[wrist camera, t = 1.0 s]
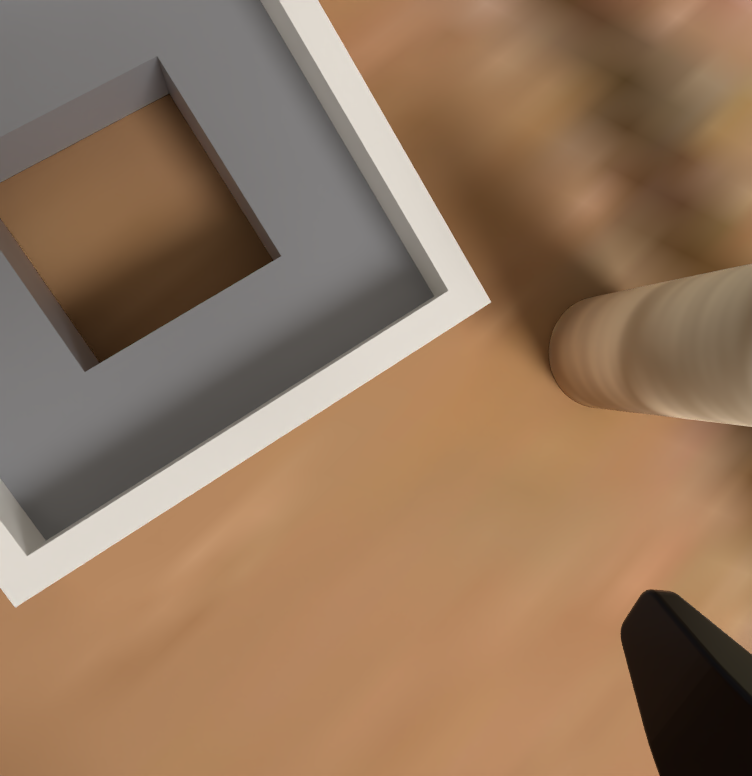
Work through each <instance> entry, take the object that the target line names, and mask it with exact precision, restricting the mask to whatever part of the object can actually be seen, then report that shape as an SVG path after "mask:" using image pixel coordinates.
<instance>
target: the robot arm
mask: <svg viewBox="0 0 752 776" xmlns="http://www.w3.org/2000/svg"><path fill="white" fill-rule="evenodd" d="M621 642H622V646H623V650H624V653H625V657H626V661H627V665H628V669H629V672H630V676H631V680H632V684H633V688H634V691H635V695H636V699H637V703H638V707H639V710H640V714H641V718H642V722H643V726H644V729H645V733H646V736H647V740H648V743H649V746H650V749H651V752H652V755H653V758H654V761H655V764H656V767H657V770H658V772H659V775H660V776H752V654H750V653H749V652H748V651H747V650H745V649H744V648H743V647H742V646H740V645H739V644H738V643H737V642H736V641H734V640H733V639H732V638H731V637H729V636H728V635H727V634H726V633H724V632H723V631H722V630H721V629H719V628H718V627H717V626H716V625H715V624H713V623H712V622H711V621H710V620H708V619H707V618H706V617H705V616H703V615H702V614H701V613H700V612H699V611H697V610H696V609H695V608H694V607H692V606H691V605H690V604H689V603H687V602H686V601H685V600H684V599H683V598H681V597H680V596H679V595H677V594H676V593H674V592H671V591H663V590H652V589H651V590H646V591H645V592H643V593H642V594H641V596H640V597H639V599H638V600H637V602H636V603H635V605H634V606H633V608H632V609H631V611H630V613H629V614H628V616H627V617H626V619H625V620H624V622H623V624H622V627H621Z"/></svg>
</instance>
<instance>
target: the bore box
mask: <svg viewBox="0 0 752 776" xmlns="http://www.w3.org/2000/svg"><path fill="white" fill-rule="evenodd" d="M167 94H170V96H171V97H172V99H173V100H174V102H175V104H176V105H177V107H178V108H179V110H180V112H181V113H182V115H183V117H184V118H185V120H186V121H187V123H188V125H189V126H190V128H191V129H192V131H193V133H194V134H195V136H196V137H197V139H198V141H199V142H200V144H201V145H202V147H203V149H204V150H205V152H206V153H207V155H208V157H209V158H210V160H211V161H212V163H213V165H214V166H215V168H216V169H217V171H218V173H219V174H220V176H221V177H222V179H223V181H224V182H225V184H226V186H227V187H228V189H229V190H230V192H231V194H232V195H233V197H234V198H235V200H236V202H237V203H238V205H239V206H240V208H241V210H242V211H243V213H244V214H245V216H246V218H247V219H248V221H249V222H250V224H251V226H252V227H253V229H254V230H255V232H256V234H257V235H258V237H259V238H260V240H261V242H262V243H263V245H264V246H265V248H266V250H267V251H268V253H269V254H270V256H271V258H272V259H273V261H272V262H270V263H269V264H267V265H265V266H264V267H262V268H260V269H259V270H257V271H255V272H253V273H252V274H250V275H248V276H247V277H245V278H243V279H242V280H240V281H238V282H236V283H235V284H233V285H231V286H230V287H228V288H226V289H225V290H223V291H221V292H220V293H218V294H216V295H214V296H213V297H211V298H209V299H208V300H206V301H204V302H203V303H201V304H199V305H198V306H196V307H194V308H192V309H191V310H189V311H187V312H186V313H184V314H182V315H181V316H179V317H177V318H175V319H174V320H172V321H170V322H169V323H167V324H165V325H164V326H162V327H160V328H159V329H157V330H155V331H153V332H152V333H150V334H148V335H147V336H145V337H143V338H142V339H140V340H138V341H137V342H135V343H133V344H131V345H130V346H128V347H126V348H125V349H123V350H121V351H120V352H118V353H116V354H114V355H113V356H111V357H109V358H108V359H106V360H104V361H103V362H101V363H99V362H98V360H97V359H96V357H95V356H94V354H93V353H92V351H91V350H90V348H89V347H88V346H87V344H86V343H85V341H84V340H83V338H82V337H81V335H80V334H79V332H78V331H77V329H76V328H75V327H74V325H73V324H72V322H71V321H70V319H69V318H68V316H67V315H66V313H65V312H64V310H63V309H62V308H61V306H60V305H59V303H58V302H57V300H56V299H55V297H54V296H53V294H52V293H51V291H50V290H49V289H48V287H47V286H46V284H45V283H44V281H43V280H42V278H41V277H40V275H39V274H38V273H37V271H36V270H35V268H34V267H33V265H32V264H31V262H30V261H29V259H28V258H27V256H26V255H25V254H24V252H23V251H22V249H21V248H20V246H19V245H18V243H17V242H16V240H15V239H14V237H13V236H12V235H11V233H10V232H9V230H8V229H7V227H6V226H5V224H4V223H3V221H2V220H1V218H0V588H1V589H2V591H3V592H4V593H5V595H6V596H7V597H8V599H9V600H10V601H11V603H12V604H13V605H14V607H17V606H18V605H20V604H22V603H23V602H25V601H26V600H28V599H29V598H31V597H33V596H34V595H36V594H37V593H39V592H40V591H42V590H43V589H45V588H47V587H48V586H50V585H51V584H53V583H54V582H56V581H57V580H59V579H61V578H62V577H64V576H65V575H67V574H68V573H70V572H71V571H73V570H75V569H76V568H78V567H79V566H81V565H82V564H84V563H86V562H87V561H89V560H90V559H92V558H93V557H95V556H96V555H98V554H100V553H101V552H103V551H104V550H106V549H107V548H109V547H110V546H112V545H114V544H115V543H117V542H118V541H120V540H121V539H123V538H124V537H126V536H128V535H129V534H131V533H132V532H134V531H135V530H137V529H138V528H140V527H142V526H143V525H145V524H146V523H148V522H149V521H151V520H153V519H154V518H156V517H157V516H159V515H160V514H162V513H163V512H165V511H167V510H168V509H170V508H171V507H173V506H174V505H176V504H177V503H179V502H181V501H182V500H184V499H185V498H187V497H188V496H190V495H191V494H193V493H195V492H196V491H198V490H199V489H201V488H202V487H204V486H206V485H207V484H209V483H210V482H212V481H213V480H215V479H216V478H218V477H220V476H221V475H223V474H224V473H226V472H227V471H229V470H230V469H232V468H234V467H235V466H237V465H238V464H240V463H241V462H243V461H244V460H246V459H248V458H249V457H251V456H252V455H254V454H255V453H257V452H259V451H260V450H262V449H263V448H265V447H266V446H268V445H269V444H271V443H273V442H274V441H276V440H277V439H279V438H280V437H282V436H283V435H285V434H287V433H288V432H290V431H291V430H293V429H294V428H296V427H297V426H299V425H301V424H302V423H304V422H305V421H307V420H308V419H310V418H311V417H313V416H315V415H316V414H318V413H319V412H321V411H322V410H324V409H326V408H327V407H329V406H330V405H332V404H333V403H335V402H336V401H338V400H340V399H341V398H343V397H344V396H346V395H347V394H349V393H350V392H352V391H354V390H355V389H357V388H358V387H360V386H361V385H363V384H364V383H366V382H368V381H369V380H371V379H372V378H374V377H375V376H377V375H379V374H380V373H382V372H383V371H385V370H386V369H388V368H389V367H391V366H393V365H394V364H396V363H397V362H399V361H400V360H402V359H403V358H405V357H407V356H408V355H410V354H411V353H413V352H414V351H416V350H417V349H419V348H421V347H422V346H424V345H425V344H427V343H428V342H430V341H432V340H433V339H435V338H436V337H438V336H439V335H441V334H442V333H444V332H446V331H447V330H449V329H450V328H452V327H453V326H455V325H456V324H458V323H460V322H461V321H463V320H464V319H466V318H467V317H469V316H470V315H472V314H474V313H475V312H477V311H478V310H480V309H481V308H483V307H484V306H486V305H488V304H489V303H491V301H490V299H489V297H488V296H487V294H486V292H485V290H484V289H483V287H482V285H481V283H480V282H479V280H478V278H477V276H476V275H475V273H474V271H473V269H472V268H471V266H470V264H469V262H468V261H467V259H466V257H465V256H464V254H463V252H462V250H461V249H460V247H459V245H458V243H457V242H456V240H455V238H454V236H453V235H452V233H451V231H450V229H449V228H448V226H447V224H446V222H445V221H444V219H443V217H442V215H441V214H440V212H439V210H438V208H437V207H436V205H435V203H434V202H433V200H432V198H431V196H430V195H429V193H428V191H427V189H426V188H425V186H424V184H423V182H422V181H421V179H420V177H419V175H418V174H417V172H416V170H415V168H414V167H413V165H412V163H411V161H410V160H409V158H408V156H407V154H406V153H405V151H404V149H403V148H402V146H401V144H400V142H399V141H398V139H397V137H396V135H395V134H394V132H393V130H392V128H391V127H390V125H389V123H388V121H387V120H386V118H385V116H384V114H383V113H382V111H381V109H380V107H379V106H378V104H377V102H376V101H375V99H374V97H373V95H372V94H371V92H370V90H369V88H368V87H367V85H366V83H365V81H364V80H363V78H362V76H361V74H360V73H359V71H358V69H357V67H356V66H355V64H354V62H353V60H352V59H351V57H350V55H349V53H348V52H347V50H346V48H345V47H344V45H343V43H342V41H341V40H340V38H339V36H338V34H337V33H336V31H335V29H334V27H333V26H332V24H331V22H330V20H329V19H328V17H327V15H326V13H325V12H324V10H323V8H322V6H321V5H320V3H319V1H318V0H0V182H2V181H4V180H6V179H8V178H10V177H12V176H13V175H15V174H17V173H19V172H21V171H23V170H25V169H27V168H29V167H31V166H32V165H34V164H36V163H38V162H40V161H42V160H44V159H46V158H48V157H50V156H51V155H53V154H55V153H57V152H59V151H61V150H63V149H65V148H67V147H69V146H70V145H72V144H74V143H76V142H78V141H80V140H82V139H84V138H86V137H87V136H89V135H91V134H93V133H95V132H97V131H99V130H101V129H103V128H105V127H106V126H108V125H110V124H112V123H114V122H116V121H118V120H120V119H122V118H124V117H125V116H127V115H129V114H131V113H133V112H135V111H137V110H139V109H141V108H142V107H144V106H146V105H148V104H150V103H152V102H154V101H156V100H158V99H160V98H161V97H163V96H165V95H167Z"/></svg>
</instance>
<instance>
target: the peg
mask: <svg viewBox="0 0 752 776" xmlns="http://www.w3.org/2000/svg"><path fill="white" fill-rule="evenodd" d="M549 362H550V367H551V371H552V374H553V376H554V378H555V380H556V382H557V384H558V385H559V387H560V388H561V389H562V391H563V392H564V393H565V394H566V395H567V396H568V397H570V398H571V399H572V400H574V401H575V402H577V403H579V404H581V405H584V406H587V407H593V408H601V409H609V410H617V411H626V412H634V413H642V414H650V415H659V416H667V417H675V418H684V419H692V420H700V421H709V422H717V423H725V424H734V425H742V426H750V427H752V264H749V265H744V266H739V267H734V268H729V269H725V270H720V271H715V272H710V273H705V274H701V275H696V276H691V277H686V278H681V279H677V280H672V281H667V282H662V283H657V284H653V285H648V286H643V287H638V288H633V289H628V290H624V291H619V292H614V293H609V294H604V295H600V296H595V297H590V298H586V299H583V300H581V301H579V302H577V303H575V304H574V305H572V306H571V307H570V308H568V309H567V310H566V311H565V312H564V313H563V314H562V316H561V317H560V318H559V320H558V321H557V323H556V325H555V327H554V329H553V332H552V335H551V338H550V344H549Z"/></svg>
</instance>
